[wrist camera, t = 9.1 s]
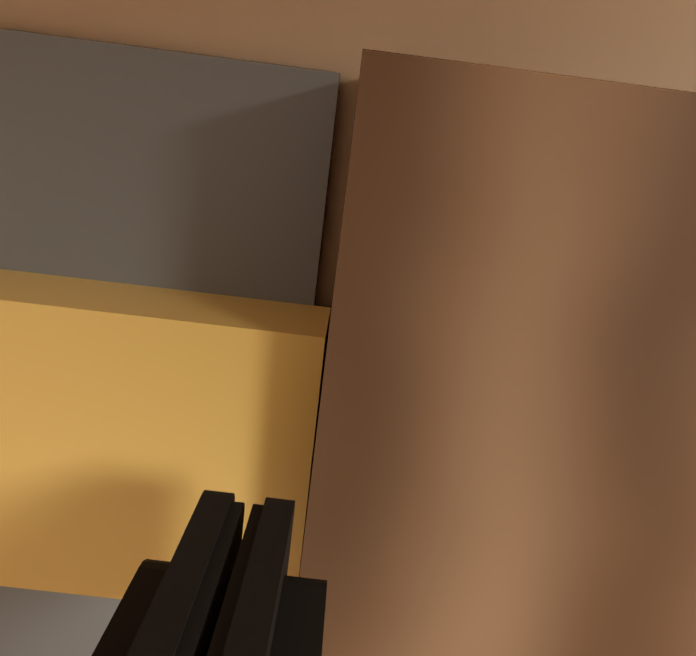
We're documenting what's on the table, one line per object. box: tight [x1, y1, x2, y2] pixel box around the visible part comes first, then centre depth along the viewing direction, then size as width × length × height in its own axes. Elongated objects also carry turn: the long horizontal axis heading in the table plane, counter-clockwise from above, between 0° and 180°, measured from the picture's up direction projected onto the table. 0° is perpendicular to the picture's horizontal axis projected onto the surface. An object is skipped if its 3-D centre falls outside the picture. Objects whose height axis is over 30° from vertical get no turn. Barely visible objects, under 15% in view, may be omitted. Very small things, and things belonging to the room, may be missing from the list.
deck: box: [299, 49, 696, 656], centre depth 14 cm, size 14×18×4 cm
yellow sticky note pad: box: [0, 269, 331, 599], centre depth 15 cm, size 10×7×2 cm
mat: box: [0, 28, 340, 656], centre depth 16 cm, size 12×18×1 cm, turn 173°
